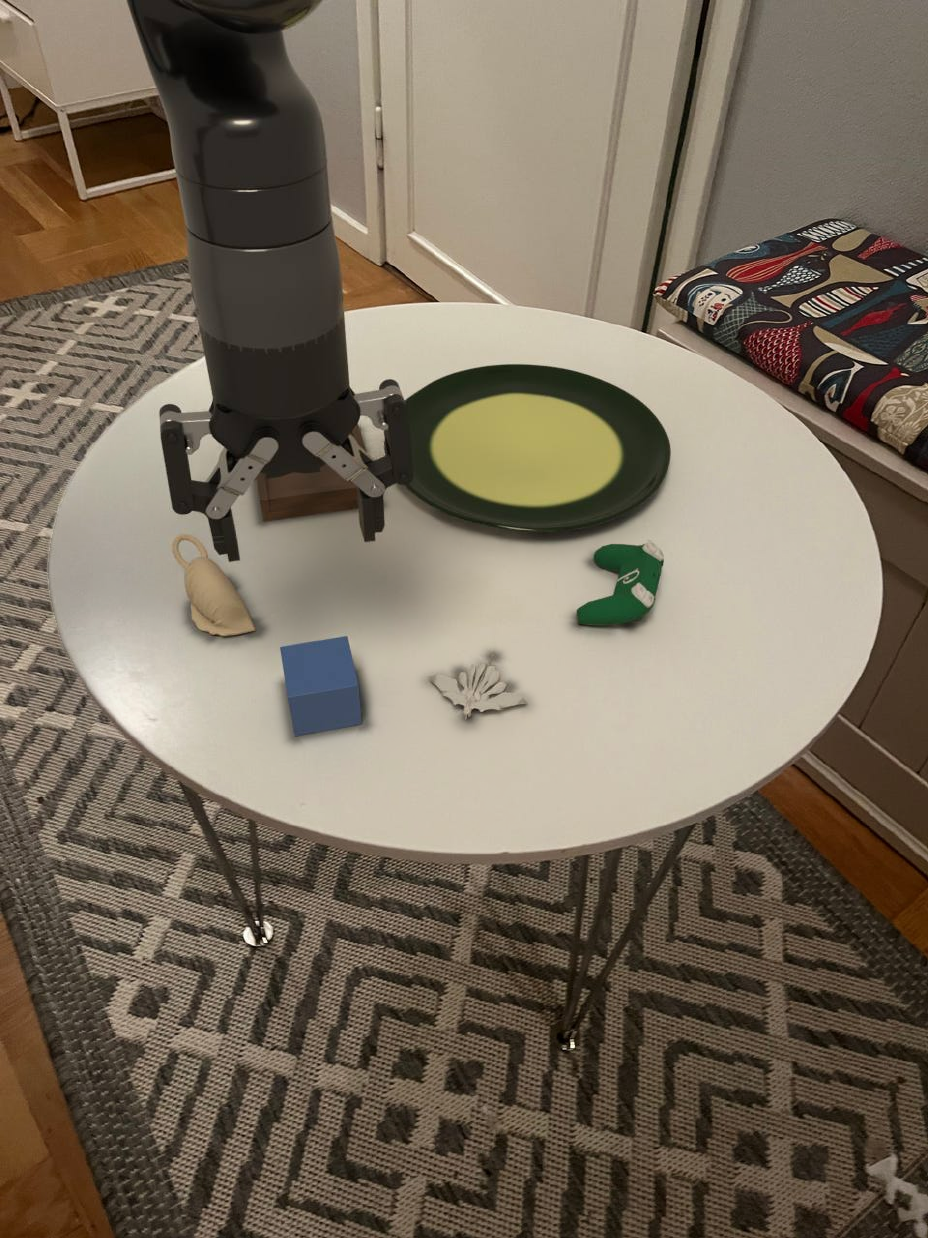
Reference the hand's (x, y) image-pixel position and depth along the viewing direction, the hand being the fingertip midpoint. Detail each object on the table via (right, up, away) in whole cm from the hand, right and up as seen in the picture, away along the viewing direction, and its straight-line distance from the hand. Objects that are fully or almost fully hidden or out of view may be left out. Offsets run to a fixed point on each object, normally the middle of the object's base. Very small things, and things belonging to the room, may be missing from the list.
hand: (301, 543), depth 61 cm
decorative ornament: (-10, -4, +18) cm, 21 cm away
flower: (+12, -10, +13) cm, 20 cm away
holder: (-4, +9, +31) cm, 33 cm away
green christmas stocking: (+24, -3, +20) cm, 31 cm away
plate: (+16, +11, +34) cm, 39 cm away
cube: (0, -11, +11) cm, 16 cm away
